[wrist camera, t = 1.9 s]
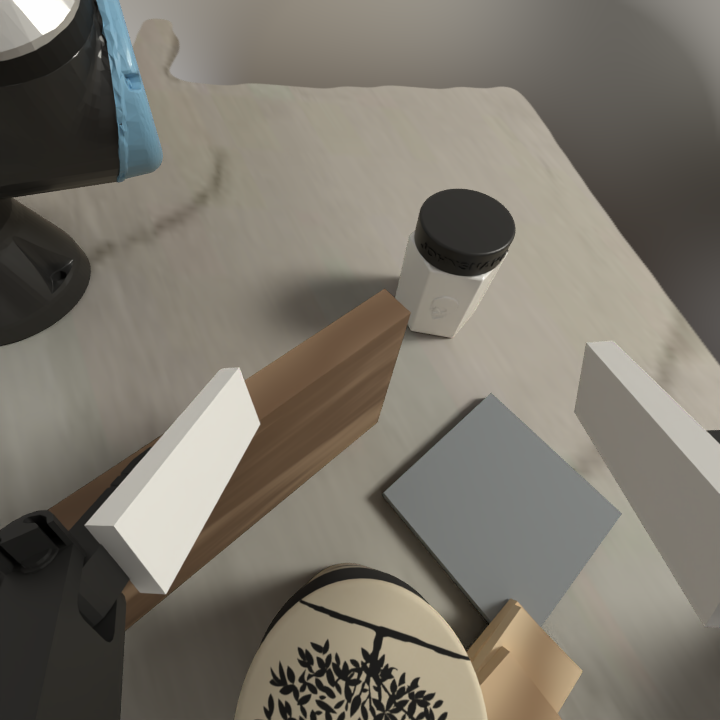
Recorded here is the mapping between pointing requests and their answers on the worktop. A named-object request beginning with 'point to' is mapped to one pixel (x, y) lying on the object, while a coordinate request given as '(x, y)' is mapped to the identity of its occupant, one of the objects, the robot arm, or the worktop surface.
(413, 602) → the travel mug
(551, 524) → the mat
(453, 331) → the jar
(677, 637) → the worktop surface
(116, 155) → the robot arm
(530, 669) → the offcut stack
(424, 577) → the worktop surface
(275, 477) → the wooden board
